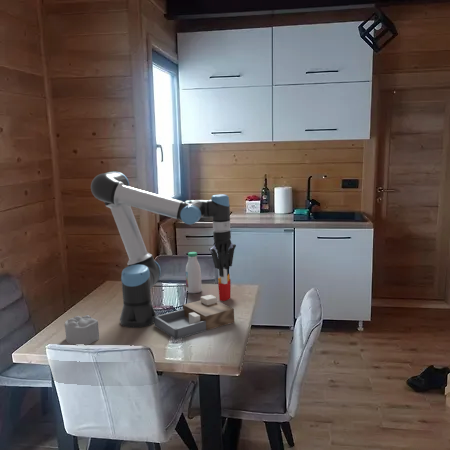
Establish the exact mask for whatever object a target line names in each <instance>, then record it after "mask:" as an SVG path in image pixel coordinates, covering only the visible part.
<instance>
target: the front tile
mask: <svg viewBox="0 0 450 450" xmlns="http://www.w3.org/2000/svg"><path fill="white" fill-rule="evenodd" d="M197 322H200V315H198V314H196V313H195V312H192V313H189V325H190V324H193V323H197Z"/></svg>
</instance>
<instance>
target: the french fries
mask: <svg viewBox="0 0 450 450" xmlns="http://www.w3.org/2000/svg"><path fill="white" fill-rule="evenodd" d="M230 275H231V274H230V273H228V275H227V284H223V283H221V276H219V277H218V278H217V285H218V295H219V297H218V298H219V302H220V301H221V302H225V301H228V300H230V299H231V291H232V290H231V288H232V287H231V285H232V284H231V283H232V282H231V281H232V280H231V278H230V277H231V276H230Z"/></svg>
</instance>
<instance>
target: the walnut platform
mask: <svg viewBox="0 0 450 450" xmlns="http://www.w3.org/2000/svg"><path fill="white" fill-rule="evenodd" d="M182 309H184V313H185V317H187V318H189V313H192V312H195V313H196V314H198V315H200V322H201V321H204V320H205V321H206V331H209V330H213V329H216V328H220V327H223V326H226V325H230V324H233V323H235V309H234V307H231V306H229V305H227V304H225V303H223V302H220V301H218V300H217V303H215V304H211V305H205V304H203V303H201V299H200V300H196V301H192V302H189V303H188V302H187V303H183V304H182Z"/></svg>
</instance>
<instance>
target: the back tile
mask: <svg viewBox="0 0 450 450" xmlns="http://www.w3.org/2000/svg"><path fill="white" fill-rule="evenodd" d="M217 299H218V298H217V297H216V296H214V295H213V294H207V295H203V296H200V300H201V303H203V304H205V305H211V304H215V303H217V301H218V300H217Z"/></svg>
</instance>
